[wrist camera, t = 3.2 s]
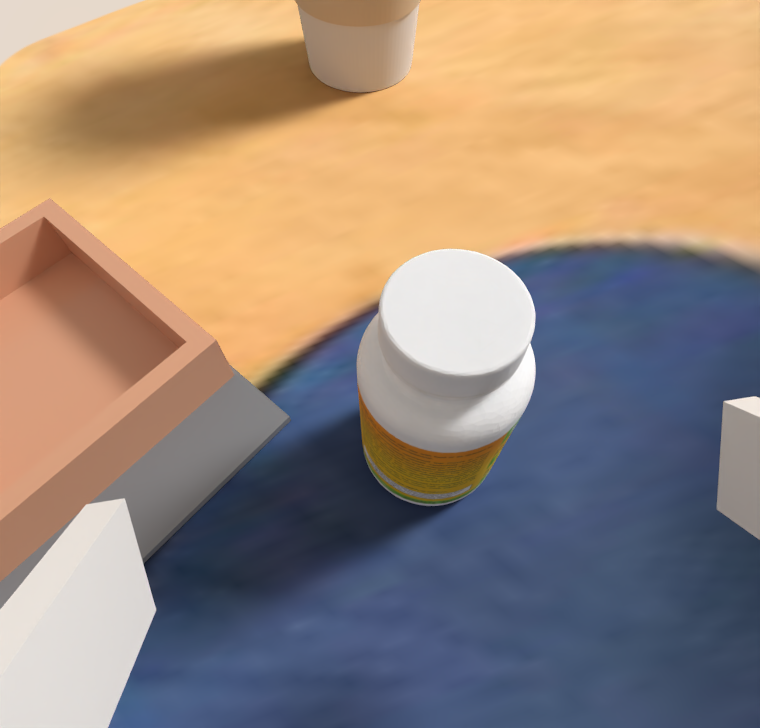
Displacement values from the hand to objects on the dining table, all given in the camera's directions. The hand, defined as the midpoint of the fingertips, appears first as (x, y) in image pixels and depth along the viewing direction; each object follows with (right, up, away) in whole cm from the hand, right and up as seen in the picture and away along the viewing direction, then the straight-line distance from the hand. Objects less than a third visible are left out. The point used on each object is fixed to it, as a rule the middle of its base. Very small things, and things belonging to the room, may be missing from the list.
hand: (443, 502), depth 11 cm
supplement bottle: (+1, 0, +10) cm, 10 cm away
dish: (-16, +2, +11) cm, 19 cm away
